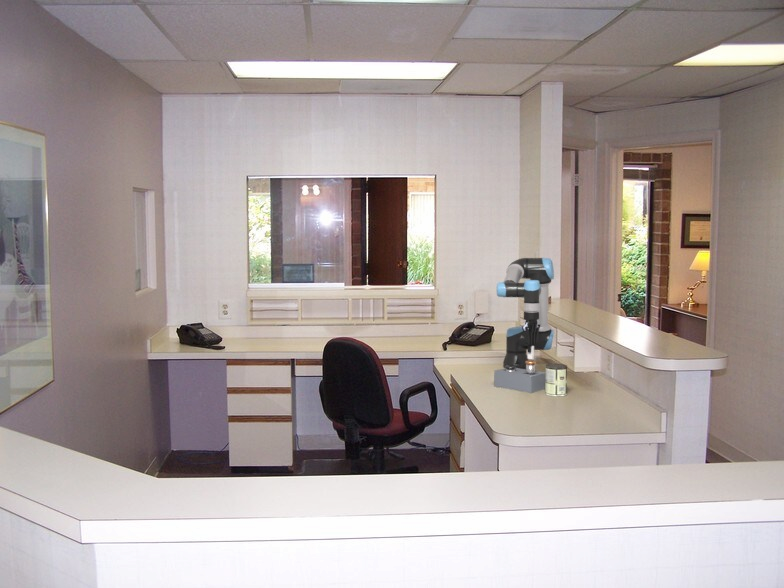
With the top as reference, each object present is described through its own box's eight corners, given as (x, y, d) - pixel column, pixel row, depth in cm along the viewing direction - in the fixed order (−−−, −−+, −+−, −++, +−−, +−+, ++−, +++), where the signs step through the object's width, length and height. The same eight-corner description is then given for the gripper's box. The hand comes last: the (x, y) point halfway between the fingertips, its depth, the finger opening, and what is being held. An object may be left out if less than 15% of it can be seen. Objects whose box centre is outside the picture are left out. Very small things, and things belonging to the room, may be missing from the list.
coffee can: (551, 390, 351) (552, 362, 350) (570, 394, 344) (571, 365, 343) (540, 394, 343) (541, 365, 342) (559, 397, 336) (560, 368, 335)
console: (510, 382, 371) (510, 367, 371) (546, 388, 356) (546, 372, 356) (494, 386, 361) (494, 370, 361) (531, 393, 346) (531, 376, 346)
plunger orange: (529, 376, 358) (529, 360, 357) (537, 378, 354) (538, 361, 354) (523, 378, 354) (523, 361, 353) (532, 379, 351) (532, 362, 350)
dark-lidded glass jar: (509, 381, 367) (509, 364, 366) (517, 382, 363) (517, 366, 362) (503, 382, 363) (503, 366, 362) (511, 384, 359) (511, 367, 358)
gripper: (532, 309, 359) (531, 356, 361) (517, 311, 349) (516, 359, 351) (545, 310, 353) (544, 358, 355) (530, 313, 344) (529, 361, 346)
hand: (530, 358), depth 353 cm, fingers closed
